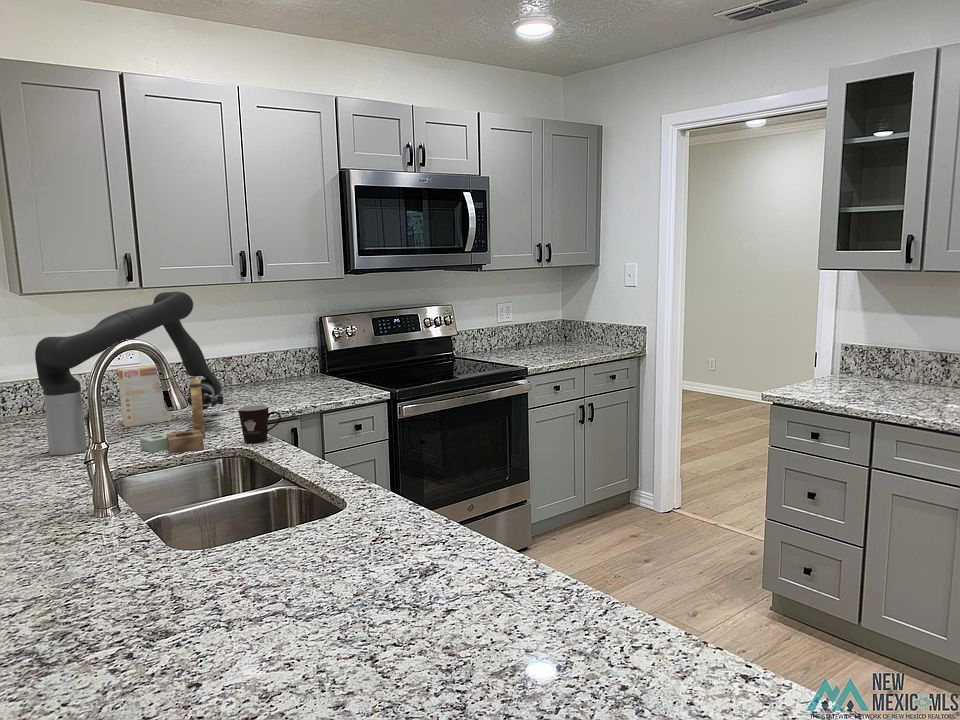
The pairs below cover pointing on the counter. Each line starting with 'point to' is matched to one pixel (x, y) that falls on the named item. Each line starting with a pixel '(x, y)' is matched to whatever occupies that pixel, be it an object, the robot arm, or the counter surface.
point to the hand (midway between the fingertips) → (197, 404)
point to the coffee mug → (255, 423)
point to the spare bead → (154, 443)
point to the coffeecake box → (141, 396)
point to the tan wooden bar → (197, 405)
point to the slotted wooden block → (185, 441)
